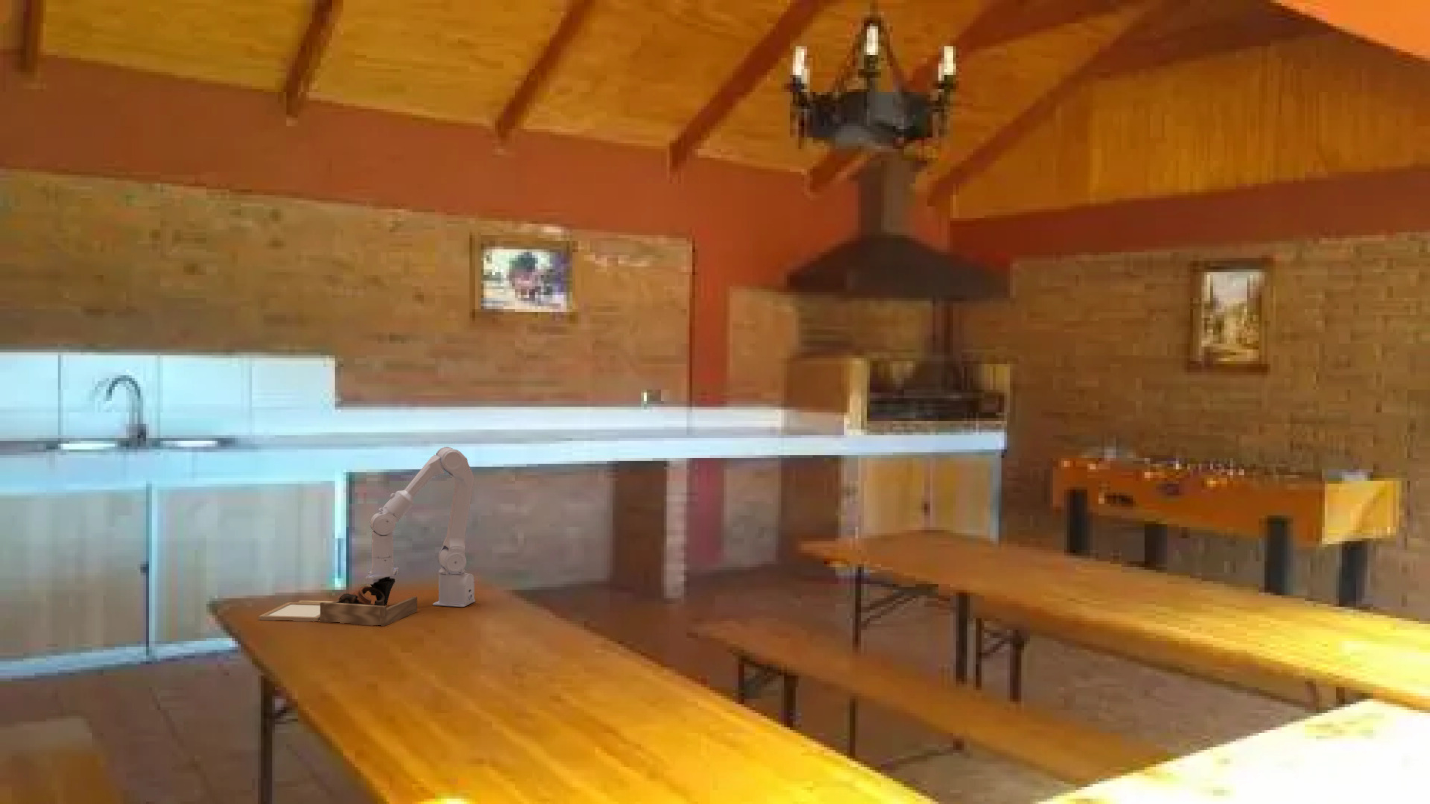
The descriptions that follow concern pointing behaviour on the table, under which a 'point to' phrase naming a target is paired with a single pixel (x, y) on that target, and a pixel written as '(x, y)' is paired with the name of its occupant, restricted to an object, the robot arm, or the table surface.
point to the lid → (295, 611)
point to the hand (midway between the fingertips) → (382, 605)
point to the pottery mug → (363, 597)
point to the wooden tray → (366, 612)
